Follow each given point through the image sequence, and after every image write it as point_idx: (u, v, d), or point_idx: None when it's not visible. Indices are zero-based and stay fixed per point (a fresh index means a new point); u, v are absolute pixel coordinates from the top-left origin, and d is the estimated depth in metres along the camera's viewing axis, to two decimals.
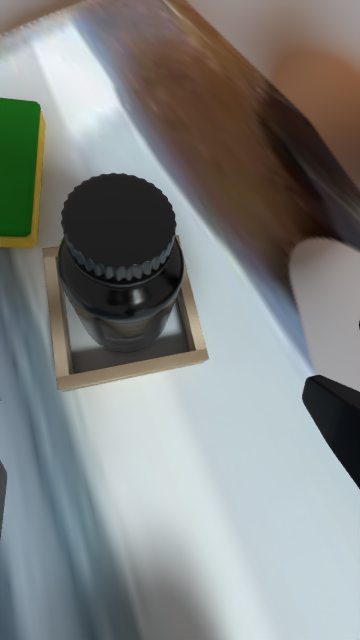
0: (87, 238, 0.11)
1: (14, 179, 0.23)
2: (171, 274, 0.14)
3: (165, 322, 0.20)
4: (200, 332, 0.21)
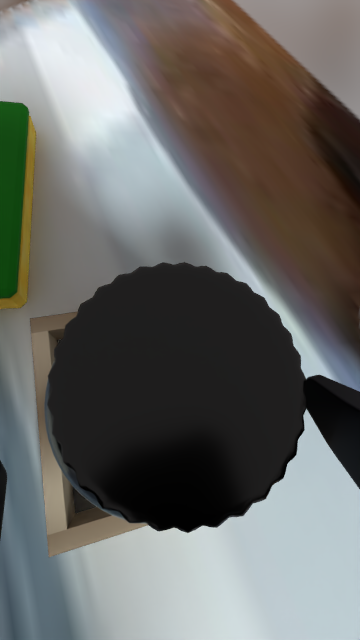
0: (111, 451, 0.04)
1: None
2: None
3: None
4: None
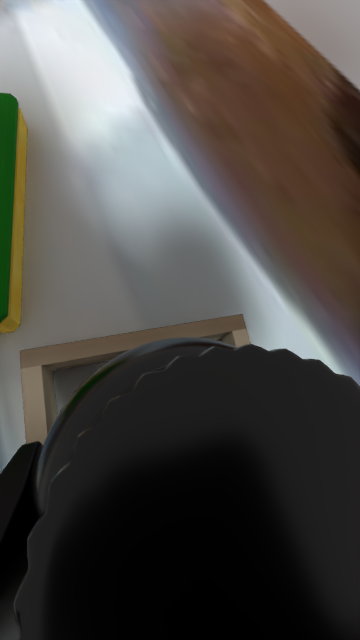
0: None
1: None
2: None
3: None
4: None
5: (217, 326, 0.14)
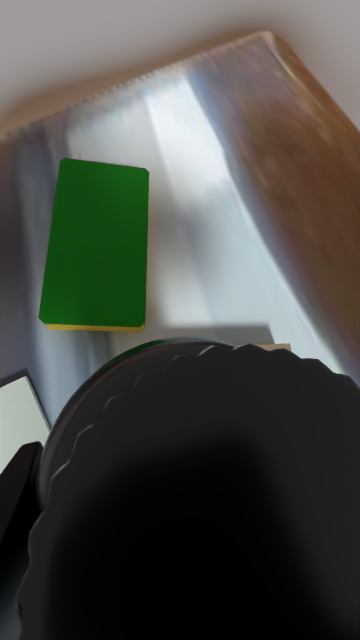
0: None
1: (128, 260, 0.21)
2: None
3: None
4: None
5: None
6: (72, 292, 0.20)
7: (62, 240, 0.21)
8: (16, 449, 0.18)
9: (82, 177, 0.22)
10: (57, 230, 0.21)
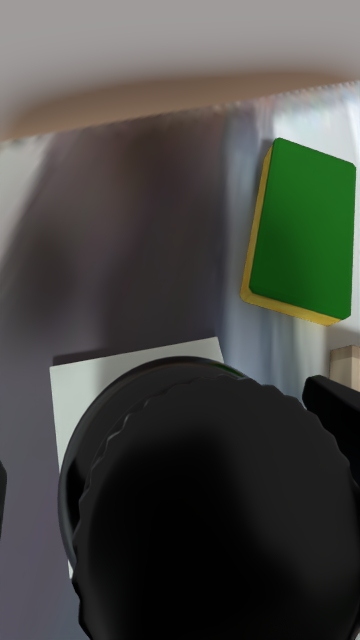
0: None
1: (336, 249, 0.20)
2: None
3: None
4: None
5: None
6: (283, 268, 0.19)
7: (276, 214, 0.20)
8: None
9: (296, 158, 0.22)
10: (271, 204, 0.20)
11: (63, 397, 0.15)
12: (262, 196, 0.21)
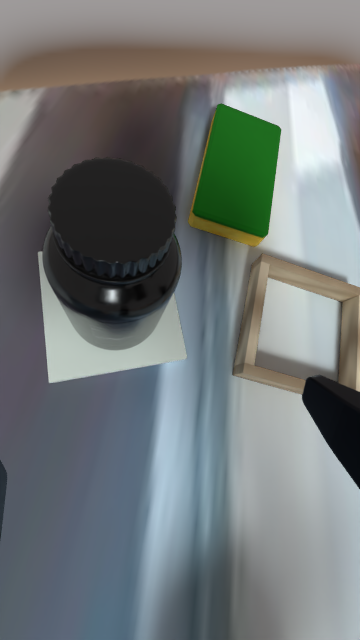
0: (77, 229, 0.10)
1: (260, 187, 0.27)
2: (167, 272, 0.13)
3: (158, 321, 0.18)
4: None
5: (352, 288, 0.26)
6: (218, 198, 0.25)
7: (215, 160, 0.26)
8: None
9: (233, 120, 0.28)
10: (212, 152, 0.26)
11: None
12: (206, 148, 0.28)
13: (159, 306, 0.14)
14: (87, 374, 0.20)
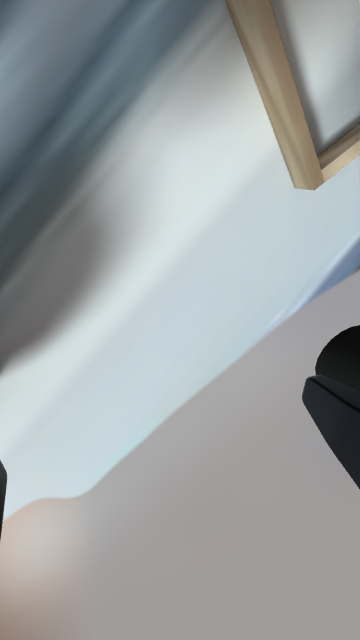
0: None
1: None
2: None
3: None
4: (341, 166, 0.18)
5: None
6: None
7: None
8: None
9: None
10: None
11: None
12: None
13: None
14: None
